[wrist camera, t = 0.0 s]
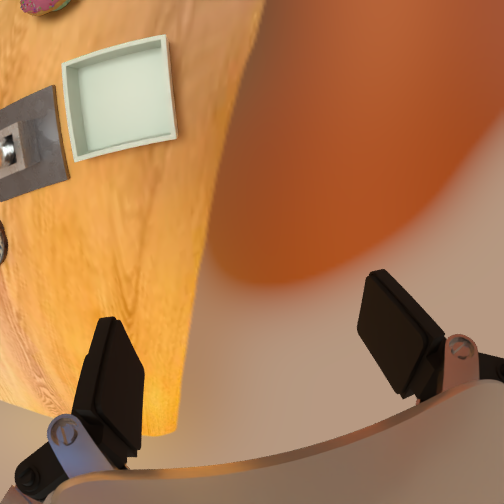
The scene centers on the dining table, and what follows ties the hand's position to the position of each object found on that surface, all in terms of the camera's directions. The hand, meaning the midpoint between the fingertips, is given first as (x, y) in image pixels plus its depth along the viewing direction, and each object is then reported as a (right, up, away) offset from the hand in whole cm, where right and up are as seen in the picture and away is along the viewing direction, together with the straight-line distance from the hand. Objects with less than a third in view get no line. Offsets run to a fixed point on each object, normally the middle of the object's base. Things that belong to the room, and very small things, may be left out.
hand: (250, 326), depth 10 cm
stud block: (-33, +18, +19) cm, 42 cm away
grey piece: (-33, +18, +18) cm, 41 cm away
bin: (-16, +23, +20) cm, 35 cm away
